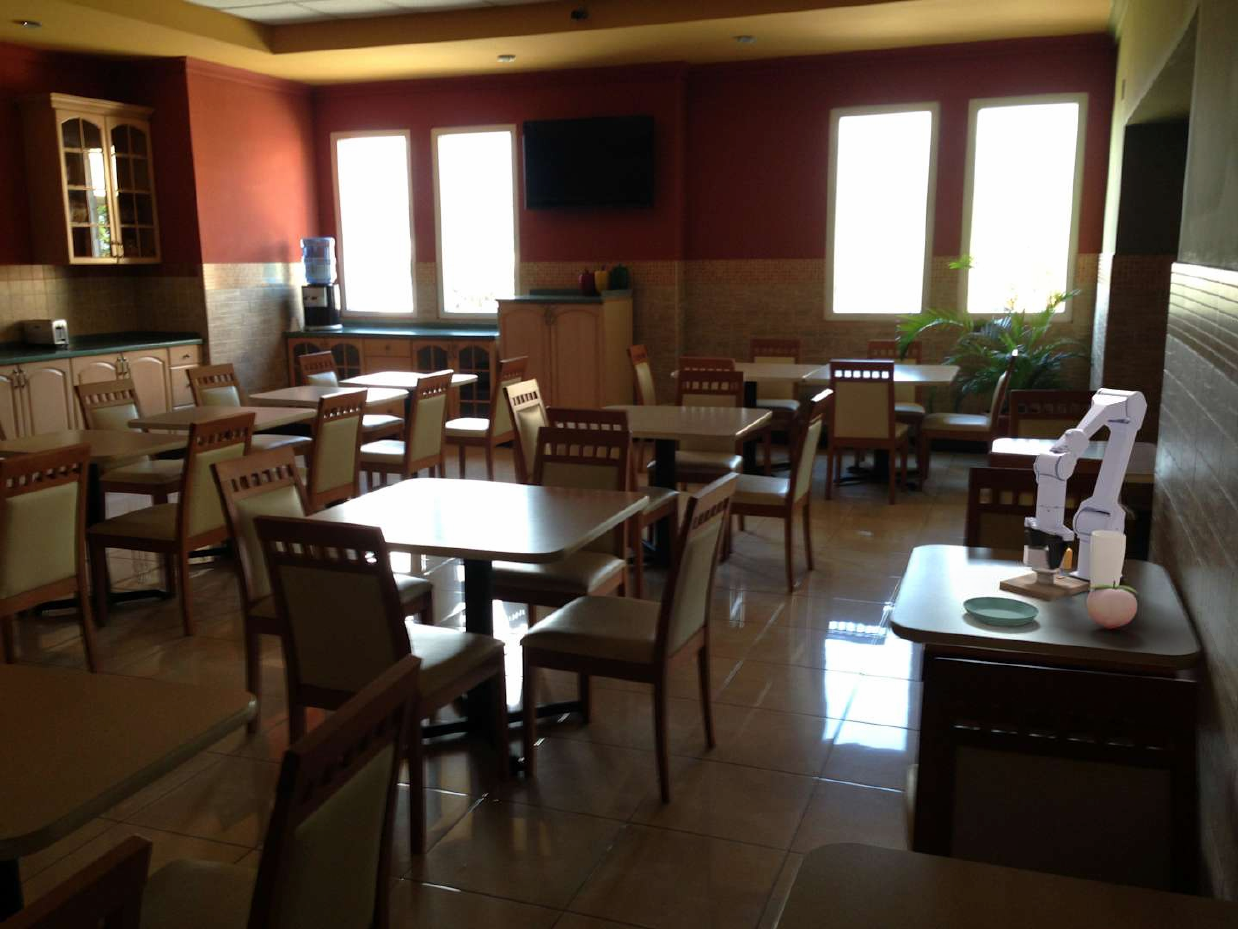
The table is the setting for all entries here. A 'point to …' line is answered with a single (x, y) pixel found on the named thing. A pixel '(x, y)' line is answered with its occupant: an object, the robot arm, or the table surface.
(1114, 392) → the robot arm
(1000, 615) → the saucer
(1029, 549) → the grey and orange block
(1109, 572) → the drinking glass
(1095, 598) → the decorative fruit
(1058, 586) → the mount plate
